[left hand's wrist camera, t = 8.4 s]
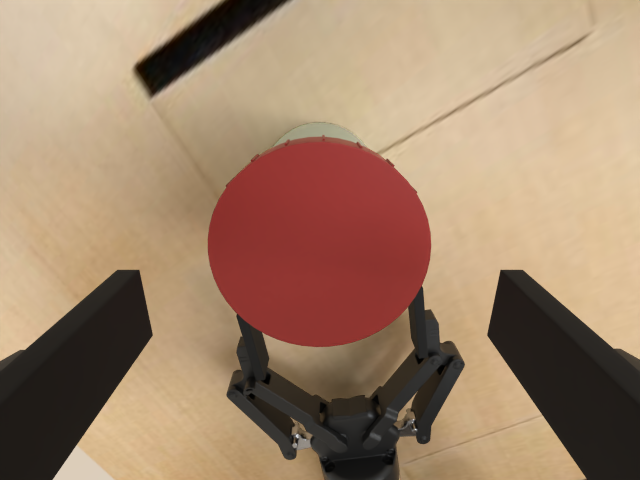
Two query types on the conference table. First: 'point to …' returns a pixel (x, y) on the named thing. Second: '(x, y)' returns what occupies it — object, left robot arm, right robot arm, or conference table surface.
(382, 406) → the right robot arm
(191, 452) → the conference table surface
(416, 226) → the lid
